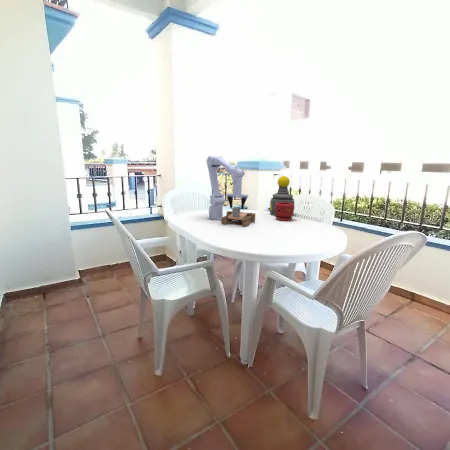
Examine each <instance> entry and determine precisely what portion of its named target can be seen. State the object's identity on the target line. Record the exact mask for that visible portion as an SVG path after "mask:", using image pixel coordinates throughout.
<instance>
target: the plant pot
mask: <svg viewBox="0 0 450 450" xmlns="http://www.w3.org/2000/svg"><path fill="white" fill-rule="evenodd" d="M286 208H287V210H286ZM283 209H284V210H283ZM275 210H276V214H277V216H275V219H276V220H278V221H282V222H285V221H286V222H288V221H291V220H292V219H293V217H292V216H293V215H294V213H293V211H294V212H295V203H294V204H293V203H285V202H279V203H276V207H275ZM289 210H290V211H289ZM292 214H293V215H292Z"/></svg>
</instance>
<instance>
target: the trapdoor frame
mask: <svg viewBox="0 0 450 450" xmlns="http://www.w3.org/2000/svg"><path fill="white" fill-rule="evenodd" d="M240 213H244V214H247V216H246V217H245V218H244V219H242V220H237V219H228V216H230V215H231V214H232V210H227V211H226V215H224V216H222V219H221V225H225V226H226V225H228V224H230V223H231V222H241V227H243V228H244V227H246V228H247V227H248V226H249V225H251V224H252V223H253V224H255V223H256V213H255V212H254V213H253V212H245V211H242V212H241V211H240Z"/></svg>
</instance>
